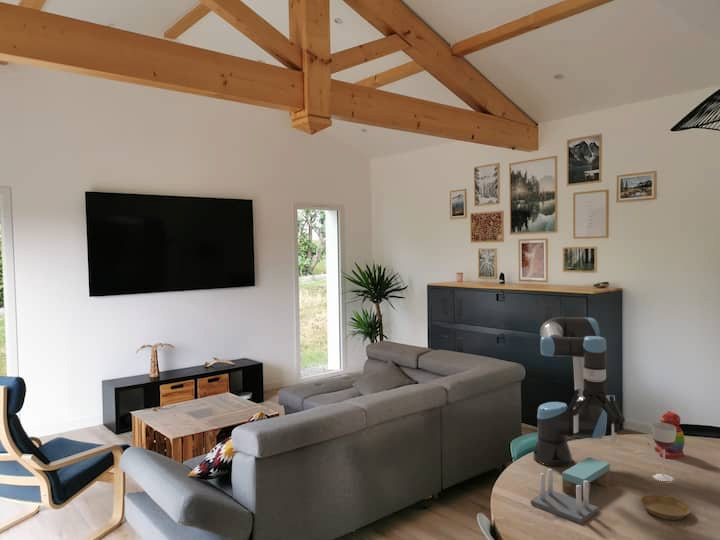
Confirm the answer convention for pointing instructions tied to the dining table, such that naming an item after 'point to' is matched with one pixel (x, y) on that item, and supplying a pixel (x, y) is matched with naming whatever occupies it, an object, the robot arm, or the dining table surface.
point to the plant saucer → (665, 506)
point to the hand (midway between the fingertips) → (594, 436)
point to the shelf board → (586, 471)
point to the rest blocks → (601, 480)
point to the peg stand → (564, 501)
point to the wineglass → (664, 443)
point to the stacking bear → (679, 441)
